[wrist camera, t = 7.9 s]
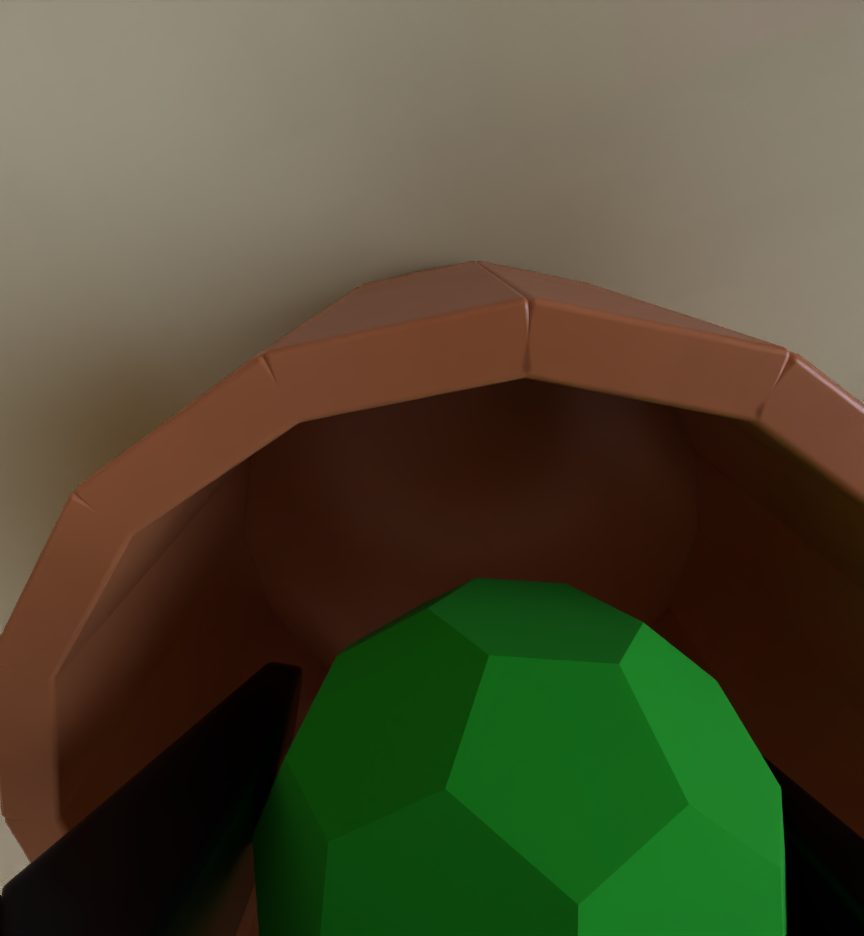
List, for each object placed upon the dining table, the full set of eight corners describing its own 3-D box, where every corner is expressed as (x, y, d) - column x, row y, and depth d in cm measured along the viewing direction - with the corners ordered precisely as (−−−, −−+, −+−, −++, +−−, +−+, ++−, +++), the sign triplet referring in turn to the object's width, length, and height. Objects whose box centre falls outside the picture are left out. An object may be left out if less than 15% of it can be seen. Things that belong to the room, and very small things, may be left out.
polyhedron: (433, 847, 10) (428, 1376, 5) (238, 624, 8) (-4, 1097, 4) (732, 718, 9) (1047, 1235, 4) (572, 437, 7) (793, 772, 3)
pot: (799, 326, 11) (1287, 450, 5) (630, 745, 15) (779, 1139, 8) (244, 211, 11) (-54, 176, 4) (208, 678, 14) (18, 1048, 8)
